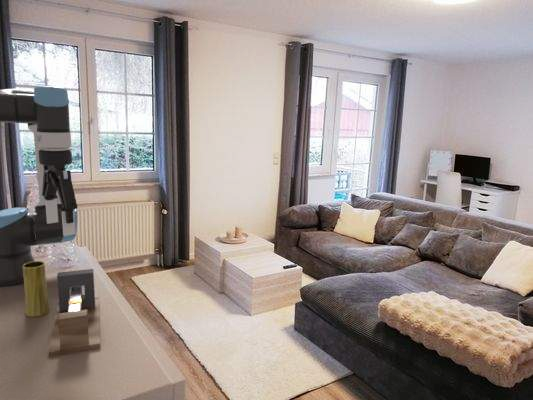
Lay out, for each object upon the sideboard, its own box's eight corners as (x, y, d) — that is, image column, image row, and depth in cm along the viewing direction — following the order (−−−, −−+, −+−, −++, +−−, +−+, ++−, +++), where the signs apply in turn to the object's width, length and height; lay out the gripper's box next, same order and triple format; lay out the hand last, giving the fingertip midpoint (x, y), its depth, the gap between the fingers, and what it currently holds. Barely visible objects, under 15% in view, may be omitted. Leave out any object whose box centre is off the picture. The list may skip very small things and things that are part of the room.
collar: (60, 306, 112) (57, 272, 110) (95, 301, 115) (93, 268, 113) (59, 310, 109) (56, 276, 107) (95, 305, 113) (93, 272, 111)
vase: (38, 318, 108) (34, 269, 106) (19, 315, 110) (14, 266, 107) (54, 308, 114) (51, 261, 112) (36, 305, 116) (32, 259, 113)
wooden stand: (58, 306, 116) (55, 277, 114) (98, 300, 120) (97, 272, 118) (48, 357, 91) (45, 321, 90) (100, 347, 96) (98, 313, 94)
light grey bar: (72, 290, 115) (71, 281, 114) (83, 289, 116) (82, 280, 115) (67, 327, 95) (66, 316, 94) (80, 325, 96) (80, 314, 95)
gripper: (25, 144, 108) (31, 220, 112) (54, 154, 90) (60, 243, 95) (55, 144, 113) (60, 216, 117) (88, 153, 95) (92, 237, 100)
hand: (60, 228), depth 106 cm, fingers open, 13 cm apart
